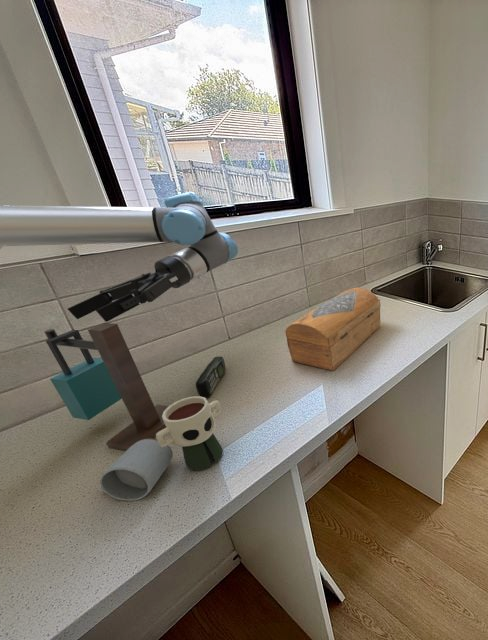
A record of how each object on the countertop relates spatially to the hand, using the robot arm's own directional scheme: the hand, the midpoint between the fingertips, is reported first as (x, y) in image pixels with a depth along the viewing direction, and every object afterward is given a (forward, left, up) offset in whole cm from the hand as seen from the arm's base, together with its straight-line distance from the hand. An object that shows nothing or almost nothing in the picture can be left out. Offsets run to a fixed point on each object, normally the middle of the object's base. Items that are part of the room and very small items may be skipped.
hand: (86, 315), depth 69 cm
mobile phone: (+12, +13, -25) cm, 30 cm away
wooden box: (+36, +39, -25) cm, 59 cm away
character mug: (+29, -10, -25) cm, 40 cm away
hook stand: (+6, -5, -24) cm, 26 cm away
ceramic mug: (+21, -17, -25) cm, 37 cm away
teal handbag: (0, -5, -20) cm, 20 cm away
